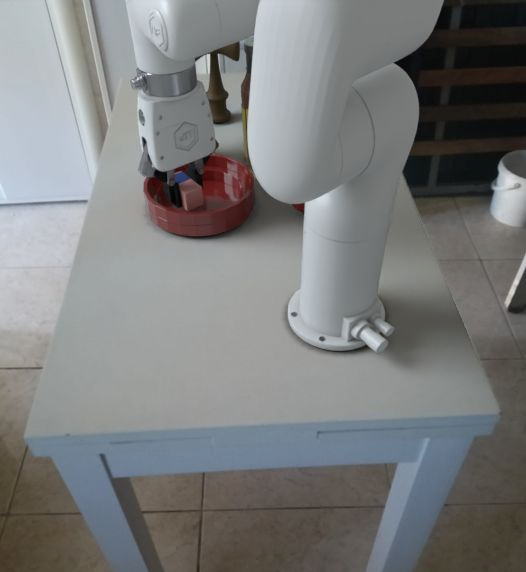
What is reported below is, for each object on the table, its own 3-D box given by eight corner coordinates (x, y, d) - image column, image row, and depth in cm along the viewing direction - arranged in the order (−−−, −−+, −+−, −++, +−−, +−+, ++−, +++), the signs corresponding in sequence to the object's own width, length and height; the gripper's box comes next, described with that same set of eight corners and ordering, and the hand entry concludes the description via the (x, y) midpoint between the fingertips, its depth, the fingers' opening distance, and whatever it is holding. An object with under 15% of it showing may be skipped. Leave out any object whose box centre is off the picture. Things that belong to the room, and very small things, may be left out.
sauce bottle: (287, 163, 101) (289, 42, 86) (258, 175, 98) (255, 53, 83) (264, 148, 104) (262, 30, 89) (236, 159, 102) (230, 40, 87)
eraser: (204, 204, 88) (202, 186, 85) (187, 211, 86) (184, 194, 84) (183, 187, 91) (181, 170, 89) (166, 194, 90) (164, 177, 87)
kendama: (194, 112, 114) (182, 0, 99) (242, 110, 114) (237, -2, 99) (193, 127, 110) (180, 12, 95) (243, 125, 110) (238, 10, 95)
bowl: (276, 211, 91) (276, 186, 87) (184, 253, 84) (181, 228, 81) (215, 166, 100) (213, 142, 97) (128, 201, 93) (123, 177, 90)
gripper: (126, 105, 70) (151, 230, 83) (235, 70, 76) (242, 191, 90) (98, 86, 74) (127, 207, 87) (204, 53, 80) (215, 171, 94)
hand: (185, 198), depth 88 cm, fingers closed on eraser, 3 cm apart
